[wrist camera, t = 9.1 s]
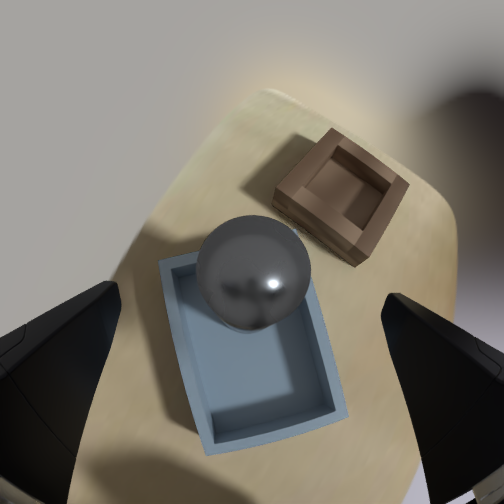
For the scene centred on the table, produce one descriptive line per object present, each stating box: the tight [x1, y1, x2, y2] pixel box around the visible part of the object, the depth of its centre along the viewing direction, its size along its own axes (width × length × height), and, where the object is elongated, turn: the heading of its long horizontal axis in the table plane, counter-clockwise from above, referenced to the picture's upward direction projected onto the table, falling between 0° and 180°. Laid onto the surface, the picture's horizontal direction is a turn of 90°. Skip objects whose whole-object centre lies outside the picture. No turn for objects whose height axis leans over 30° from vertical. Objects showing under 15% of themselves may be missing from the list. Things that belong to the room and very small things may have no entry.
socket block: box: [272, 128, 410, 267], centre depth 24 cm, size 9×9×3 cm
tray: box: [158, 229, 349, 456], centre depth 20 cm, size 14×10×4 cm
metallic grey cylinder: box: [196, 215, 311, 334], centre depth 16 cm, size 4×4×11 cm
